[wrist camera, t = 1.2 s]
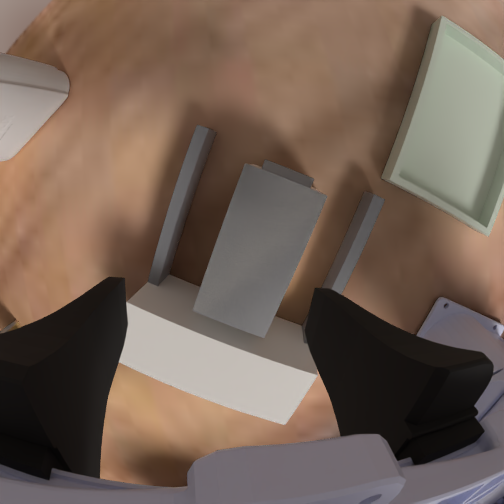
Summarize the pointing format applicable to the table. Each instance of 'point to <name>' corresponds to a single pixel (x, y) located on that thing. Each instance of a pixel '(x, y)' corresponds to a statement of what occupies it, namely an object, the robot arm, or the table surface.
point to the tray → (454, 129)
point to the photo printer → (26, 100)
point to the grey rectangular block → (259, 246)
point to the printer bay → (220, 334)
